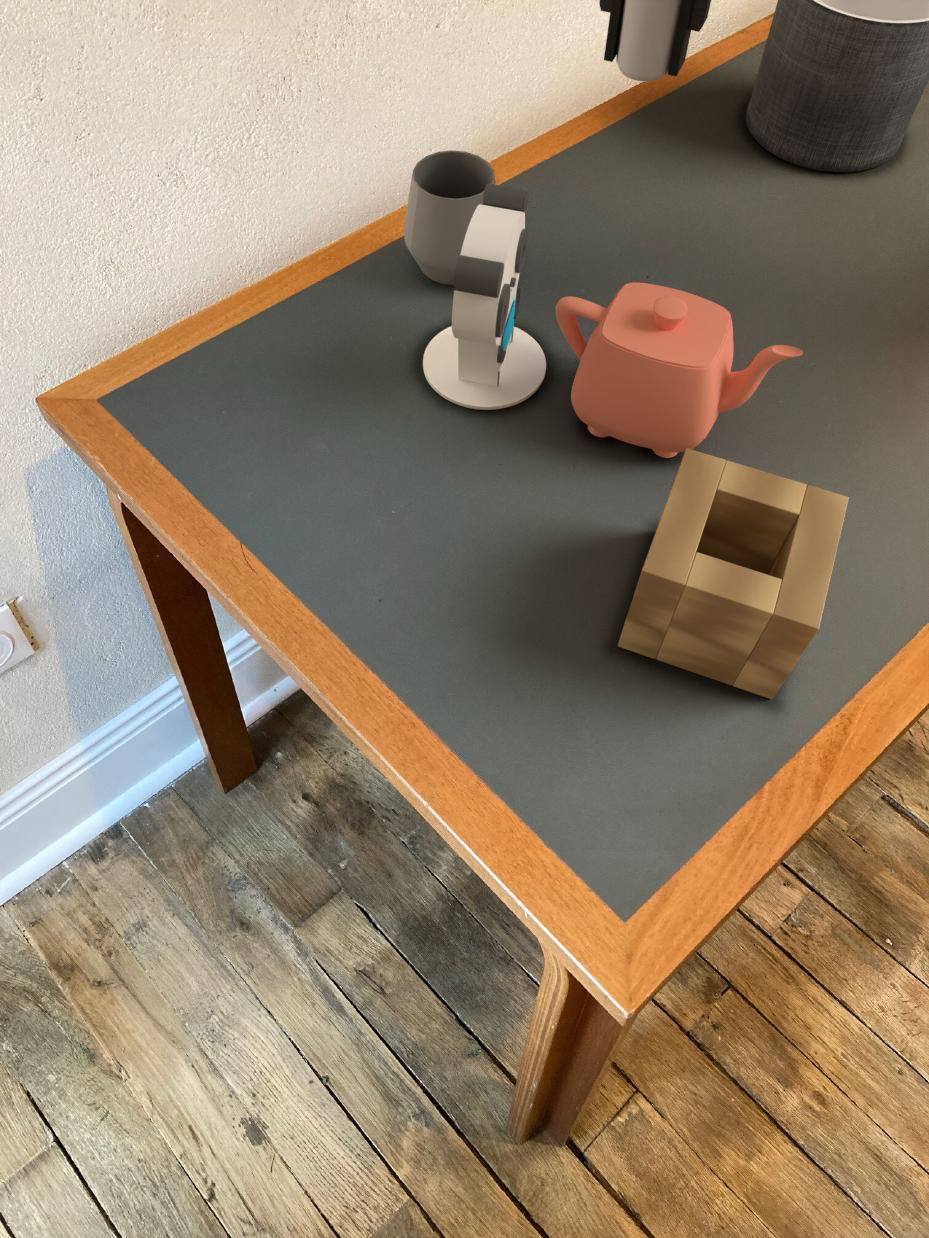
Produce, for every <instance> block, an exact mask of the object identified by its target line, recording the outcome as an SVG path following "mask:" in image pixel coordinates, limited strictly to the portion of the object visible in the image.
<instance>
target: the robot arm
mask: <svg viewBox="0 0 929 1238" xmlns="http://www.w3.org/2000/svg"><path fill="white" fill-rule="evenodd" d="M711 3H712V0H682V4H681V9H680V14H679V19H678V24H677V30H676V35H675V40H674V45H673V50H672V55H671V60H670V65H669V70H668V73H667V75H668V76H671V77H677V76H678V75H679V73H680V71H681V69H682V68H683V65H684V64H685V62H686V58H687V52H688V48H689V44H690V38H691V34H692V32H693V31H694V32H697V33H699V32H701V30H702V28H703V27H704V25H705V23H706V21H707V19H708V16H709V12H710V8H711ZM598 4H599V9H600V12H605V13H609V20H608V27H607V34H606V42H605V47H604V54H603V61H606V62H610V63H613V62H614V60H615V59H616V57H617V50H618V43H619V36H620V28H621V21H622V14H623V6H624V0H599V3H598Z"/></svg>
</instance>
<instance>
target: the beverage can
mask: <svg viewBox="0 0 929 1238" xmlns="http://www.w3.org/2000/svg"><path fill="white" fill-rule="evenodd" d="M681 4H682V0H624V6H623V14H622V21H621V28H620V36H619V43H618V50H617V55H616V57H615V59H616V62H615V63H616V65H617V68H618V69H619V71H620V72H621V74H622V75H624V76H625V77H626V78H628V79H631V80H633V81H638V82H654V81H658V80H660V79H662V78H664V77H665V76H666V75H668V70H669V65H670V60H671V55H672V50H673V45H674V40H675V35H676V30H677V24H678V19H679V14H680V9H681Z"/></svg>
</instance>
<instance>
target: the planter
mask: <svg viewBox="0 0 929 1238" xmlns="http://www.w3.org/2000/svg"><path fill="white" fill-rule="evenodd" d="M770 23H771V24H770V27H769V32H768V34H767V38H766V41H765V46H764V48H763V49H764V50H763V53H762V56H761V60H760V64H759V68H758V71H757V75H756V79H755V83H754V86H753V89H752V93H751V97H750V99H749V102H748V105H747V107H746V111H745V123H746V127H747V128H748V131H749V133H750V135H751V136H752V137H753V139H754V140H755V141H756V142H757V143H758V144H759V145H760V146H761V147H762V148H764V149H765V150H766V151H767V152H769V153H771V154H772V155H774V156H776V157H777V158H779V159H781V160H784V161H786V162H788V163H790V164H793V165H796V166H799V167H802V168H806V169H810V170H815V171H820V172H828V173H853V172H854V173H856V172H861V171H867V170H870V169H874V168H877V167H879V166H881V165H883V164H885V163H887V162H888V161H889V160H891V159H892V158H893V157H894V156H895V155H896V154H897V152H898V151H899V149H900V147H901V145H902V143H903V140H904V137H905V134H906V132H907V130H908V127H909V126H910V122H911V120H912V118H913V115H914V114H915V111H916V109H917V107H918V105H919V102H920V100H921V98H922V96H923V94H924V92H925V89H926V87H927V85H928V83H929V0H777V3H776V5H775V10H774V13H773V17H772V20H771V22H770Z"/></svg>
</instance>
